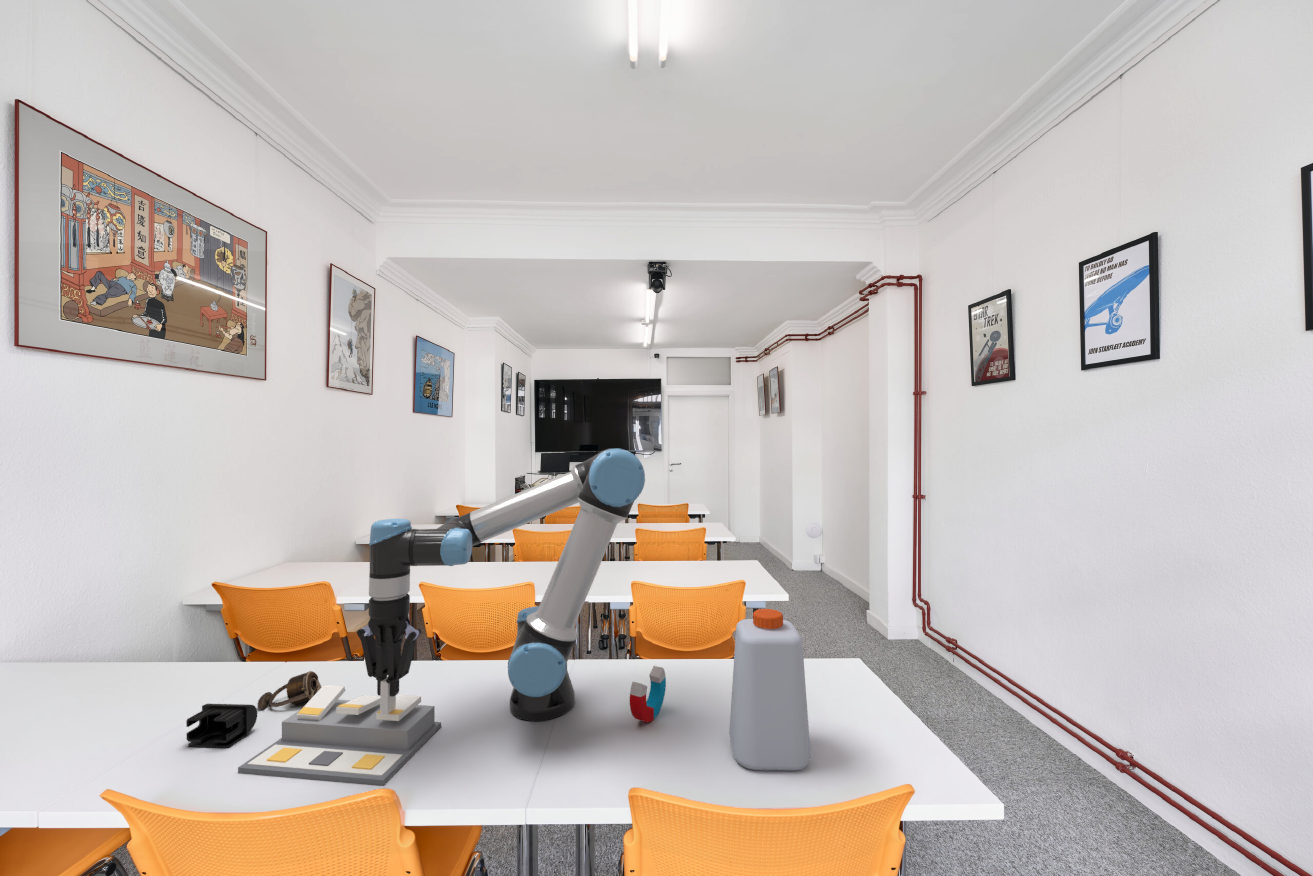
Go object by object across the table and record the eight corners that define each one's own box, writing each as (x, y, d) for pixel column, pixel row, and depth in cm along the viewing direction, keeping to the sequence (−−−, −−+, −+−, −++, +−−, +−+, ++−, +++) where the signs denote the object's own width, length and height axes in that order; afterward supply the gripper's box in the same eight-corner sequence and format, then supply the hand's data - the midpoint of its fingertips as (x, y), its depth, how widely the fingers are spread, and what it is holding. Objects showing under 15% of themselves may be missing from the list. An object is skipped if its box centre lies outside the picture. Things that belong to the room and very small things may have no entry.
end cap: (258, 730, 116) (258, 699, 116) (230, 749, 109) (230, 716, 109) (214, 729, 117) (214, 698, 117) (184, 747, 109) (184, 715, 109)
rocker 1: (345, 690, 118) (344, 685, 117) (319, 720, 110) (318, 715, 110) (325, 689, 118) (323, 684, 118) (298, 719, 111) (296, 714, 110)
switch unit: (441, 726, 117) (441, 704, 117) (383, 785, 97) (383, 758, 97) (317, 717, 121) (317, 695, 121) (237, 772, 101) (237, 746, 101)
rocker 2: (421, 701, 115) (421, 695, 115) (398, 721, 108) (398, 714, 108) (399, 700, 116) (399, 694, 116) (376, 719, 108) (376, 712, 108)
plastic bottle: (727, 729, 116) (726, 601, 116) (797, 730, 115) (796, 601, 115) (735, 773, 101) (735, 625, 101) (815, 774, 100) (815, 626, 100)
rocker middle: (382, 702, 116) (383, 696, 117) (357, 715, 109) (358, 707, 109) (361, 701, 117) (362, 694, 117) (335, 713, 109) (336, 706, 110)
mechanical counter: (298, 693, 121) (329, 665, 131) (247, 685, 123) (282, 658, 132) (301, 720, 123) (331, 690, 133) (251, 712, 124) (285, 683, 134)
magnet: (656, 705, 126) (656, 663, 126) (666, 708, 125) (666, 666, 125) (629, 729, 116) (629, 683, 116) (640, 732, 114) (639, 686, 114)
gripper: (429, 591, 112) (428, 704, 111) (372, 589, 113) (370, 700, 113) (408, 602, 104) (406, 723, 104) (347, 599, 106) (345, 718, 105)
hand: (387, 710), depth 108 cm, fingers closed
